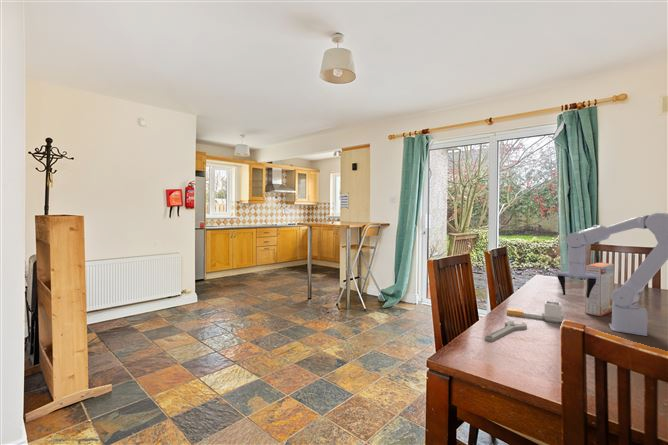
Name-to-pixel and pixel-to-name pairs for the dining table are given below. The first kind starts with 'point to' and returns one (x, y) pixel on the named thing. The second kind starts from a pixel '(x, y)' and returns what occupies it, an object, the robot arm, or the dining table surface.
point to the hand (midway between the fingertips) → (575, 295)
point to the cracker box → (600, 289)
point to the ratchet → (533, 315)
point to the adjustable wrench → (505, 330)
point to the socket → (552, 309)
